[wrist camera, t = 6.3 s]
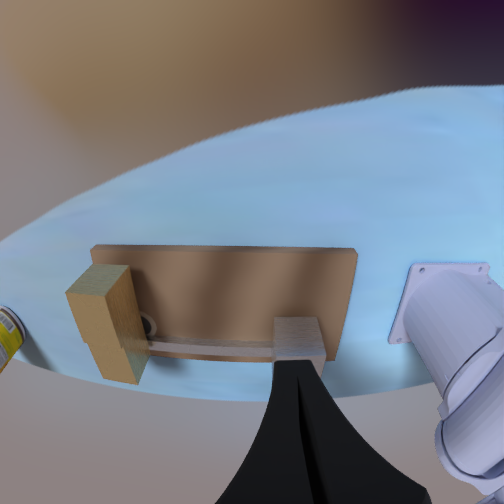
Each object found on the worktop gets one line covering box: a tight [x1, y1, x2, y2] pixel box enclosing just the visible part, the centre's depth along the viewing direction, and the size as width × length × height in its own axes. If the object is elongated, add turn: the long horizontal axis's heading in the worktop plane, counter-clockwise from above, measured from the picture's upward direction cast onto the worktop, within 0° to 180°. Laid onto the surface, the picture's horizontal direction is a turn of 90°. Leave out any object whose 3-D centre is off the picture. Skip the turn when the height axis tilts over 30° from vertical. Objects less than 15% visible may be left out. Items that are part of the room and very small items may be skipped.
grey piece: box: [146, 317, 326, 380], centre depth 19 cm, size 16×4×5 cm, turn 90°
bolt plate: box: [90, 245, 358, 362], centre depth 21 cm, size 19×10×1 cm, turn 90°
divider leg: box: [65, 264, 151, 385], centre depth 18 cm, size 3×8×5 cm, turn 0°
